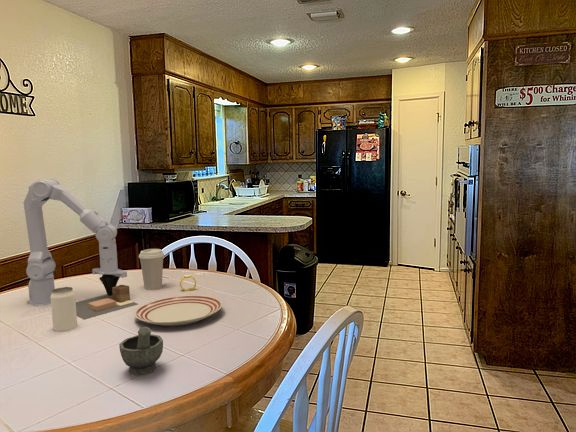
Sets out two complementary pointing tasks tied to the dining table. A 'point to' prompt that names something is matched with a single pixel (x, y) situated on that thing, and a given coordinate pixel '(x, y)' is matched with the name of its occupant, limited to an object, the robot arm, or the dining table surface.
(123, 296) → the block
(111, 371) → the dining table surface
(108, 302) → the tile
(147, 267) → the coffee cup
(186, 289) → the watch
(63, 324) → the can
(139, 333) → the mortar and pestle
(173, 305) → the dinner plate
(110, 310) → the mat
